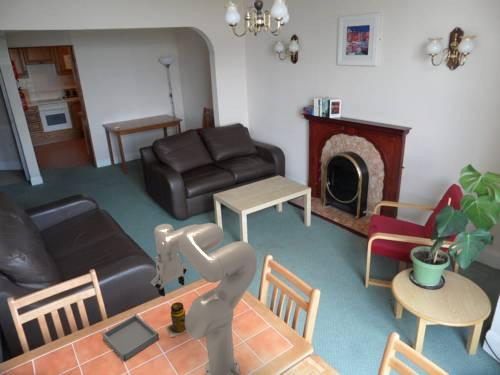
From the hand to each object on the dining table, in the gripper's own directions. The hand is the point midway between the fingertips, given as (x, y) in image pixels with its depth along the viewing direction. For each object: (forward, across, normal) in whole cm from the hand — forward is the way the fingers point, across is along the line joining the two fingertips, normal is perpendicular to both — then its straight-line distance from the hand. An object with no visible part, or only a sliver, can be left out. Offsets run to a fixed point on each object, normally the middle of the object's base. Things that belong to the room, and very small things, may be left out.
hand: (172, 289), depth 155 cm
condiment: (+21, 0, -1) cm, 21 cm away
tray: (+20, -17, +9) cm, 28 cm away
